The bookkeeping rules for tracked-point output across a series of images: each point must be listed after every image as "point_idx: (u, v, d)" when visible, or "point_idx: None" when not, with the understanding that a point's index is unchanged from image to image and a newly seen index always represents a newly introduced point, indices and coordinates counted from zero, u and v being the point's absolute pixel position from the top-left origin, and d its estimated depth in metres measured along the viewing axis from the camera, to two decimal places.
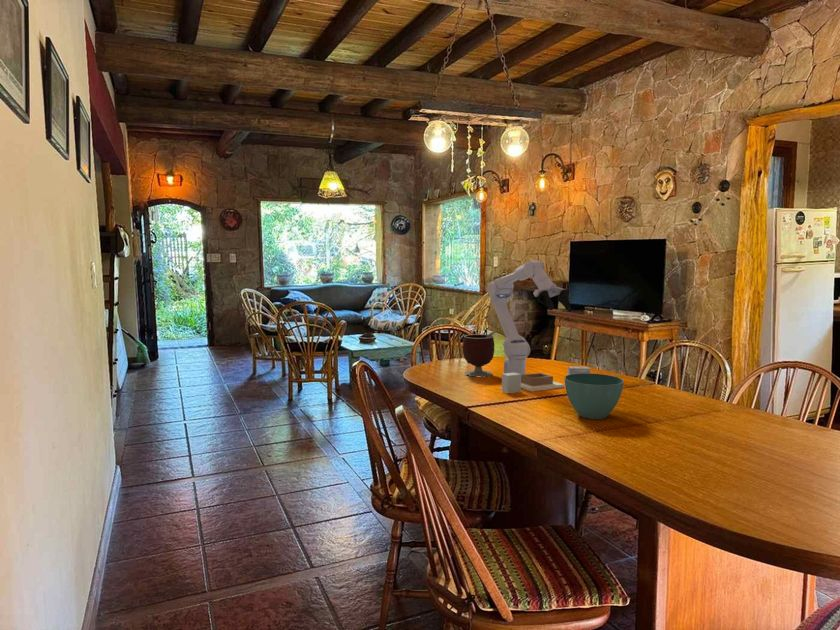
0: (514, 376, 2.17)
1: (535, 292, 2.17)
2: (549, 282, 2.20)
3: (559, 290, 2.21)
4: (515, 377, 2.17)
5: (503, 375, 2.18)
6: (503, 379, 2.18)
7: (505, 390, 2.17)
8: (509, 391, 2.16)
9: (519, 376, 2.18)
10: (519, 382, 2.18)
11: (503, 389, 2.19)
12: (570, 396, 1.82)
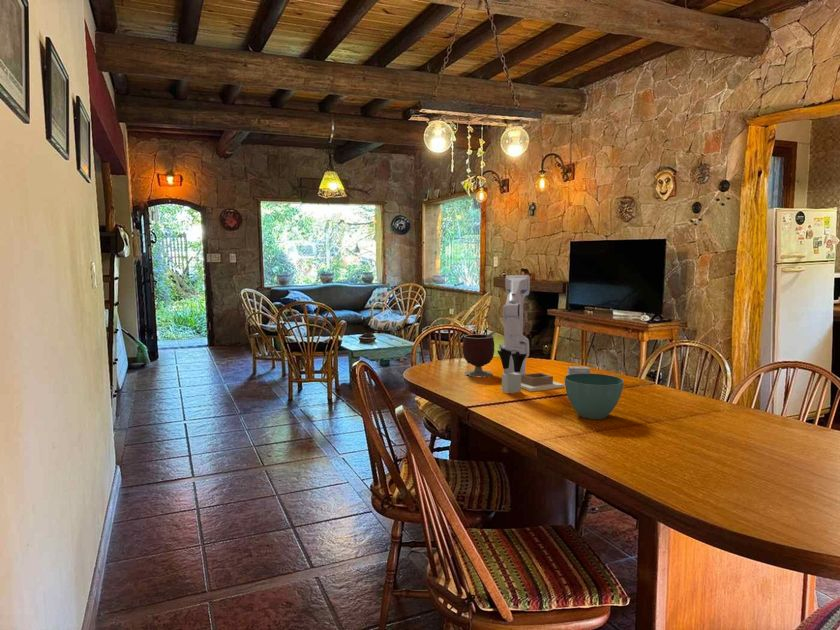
0: (514, 376, 2.17)
1: None
2: (505, 341, 2.16)
3: None
4: (515, 377, 2.17)
5: (503, 375, 2.18)
6: (503, 379, 2.18)
7: (505, 390, 2.17)
8: (509, 391, 2.16)
9: (519, 376, 2.18)
10: (519, 382, 2.18)
11: (503, 389, 2.19)
12: (570, 396, 1.82)
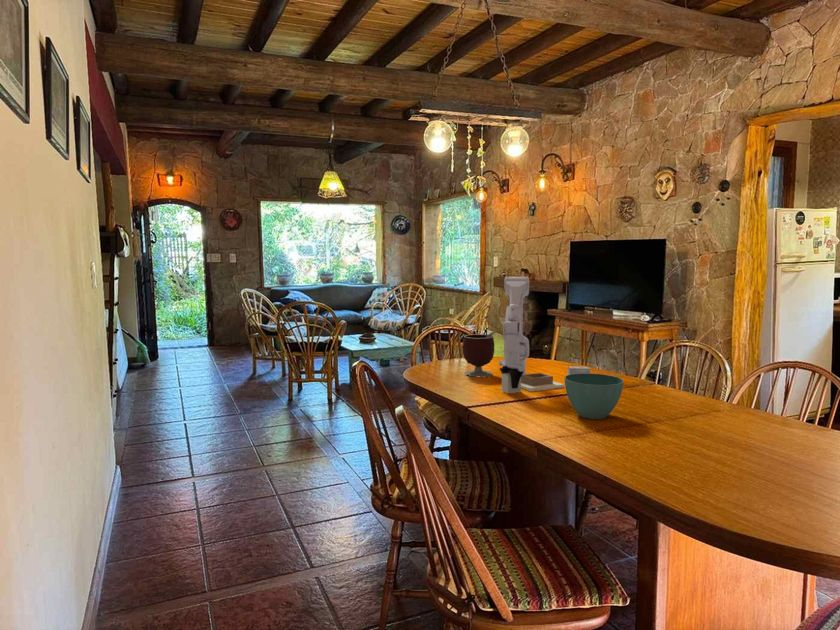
0: None
1: None
2: (505, 358, 2.17)
3: None
4: None
5: (503, 375, 2.18)
6: (503, 379, 2.18)
7: (505, 390, 2.17)
8: (509, 391, 2.16)
9: None
10: (519, 382, 2.18)
11: (503, 389, 2.19)
12: (570, 396, 1.82)
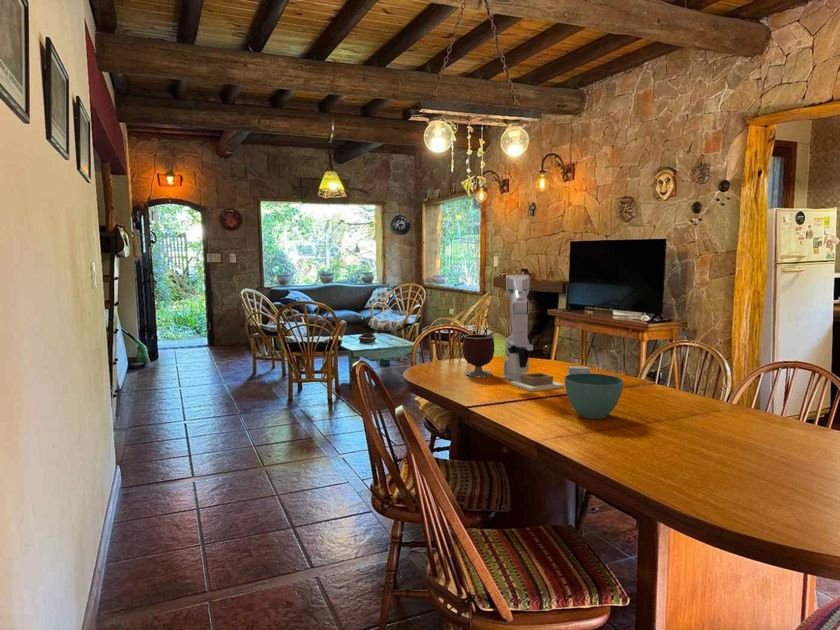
0: None
1: None
2: (513, 338, 2.19)
3: None
4: None
5: (511, 355, 2.21)
6: (511, 359, 2.21)
7: (513, 369, 2.20)
8: (517, 370, 2.19)
9: None
10: (527, 362, 2.20)
11: (511, 369, 2.21)
12: (570, 396, 1.82)
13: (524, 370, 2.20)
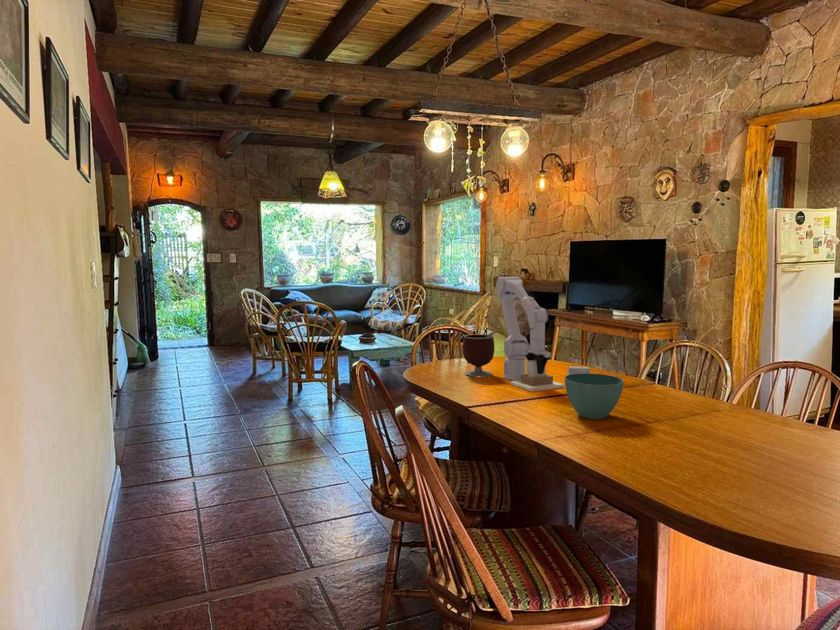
0: None
1: None
2: (531, 345, 2.27)
3: None
4: None
5: (528, 362, 2.28)
6: (528, 366, 2.28)
7: (530, 376, 2.27)
8: (534, 377, 2.26)
9: None
10: (544, 368, 2.28)
11: (528, 375, 2.28)
12: (570, 396, 1.82)
13: (541, 376, 2.27)
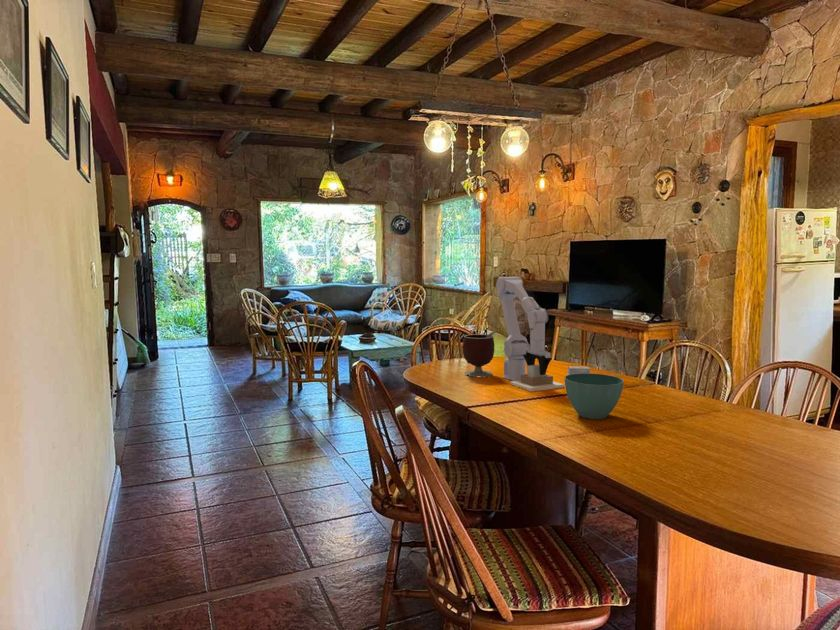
0: (539, 368, 2.27)
1: None
2: (531, 346, 2.27)
3: None
4: None
5: (528, 367, 2.28)
6: (528, 371, 2.28)
7: None
8: None
9: None
10: None
11: None
12: (570, 396, 1.82)
13: None
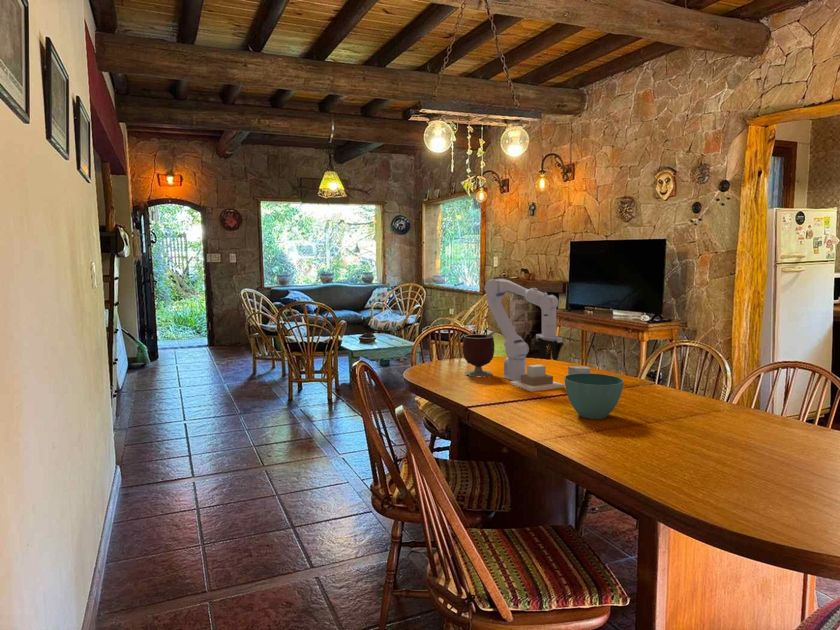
0: (539, 368, 2.27)
1: None
2: (542, 331, 2.31)
3: (553, 339, 2.28)
4: (540, 368, 2.27)
5: (528, 367, 2.28)
6: (528, 371, 2.28)
7: None
8: None
9: (544, 368, 2.28)
10: (544, 373, 2.28)
11: None
12: (570, 396, 1.82)
13: None
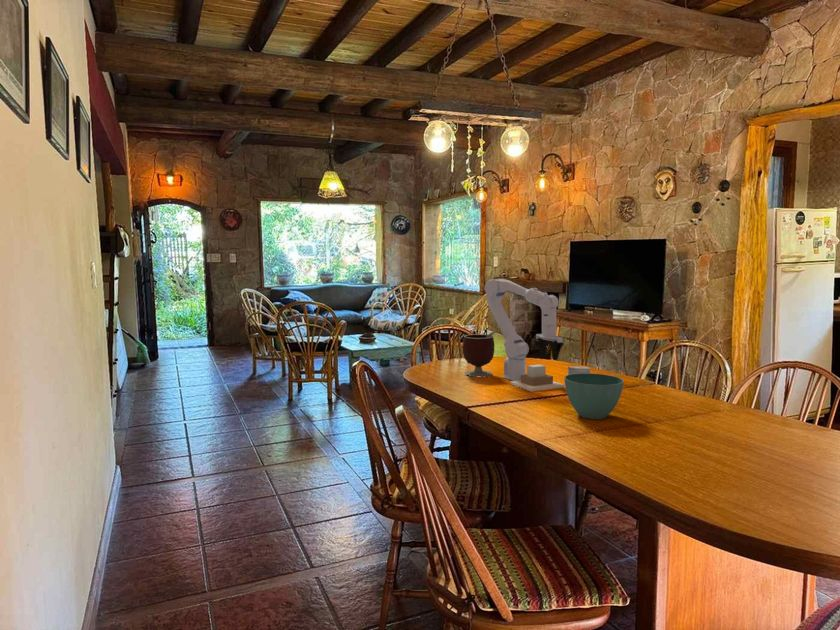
0: (539, 368, 2.27)
1: None
2: (542, 331, 2.31)
3: (553, 338, 2.28)
4: (540, 368, 2.27)
5: (528, 367, 2.28)
6: (528, 371, 2.28)
7: None
8: None
9: (544, 368, 2.28)
10: (544, 373, 2.28)
11: None
12: (570, 396, 1.82)
13: None
